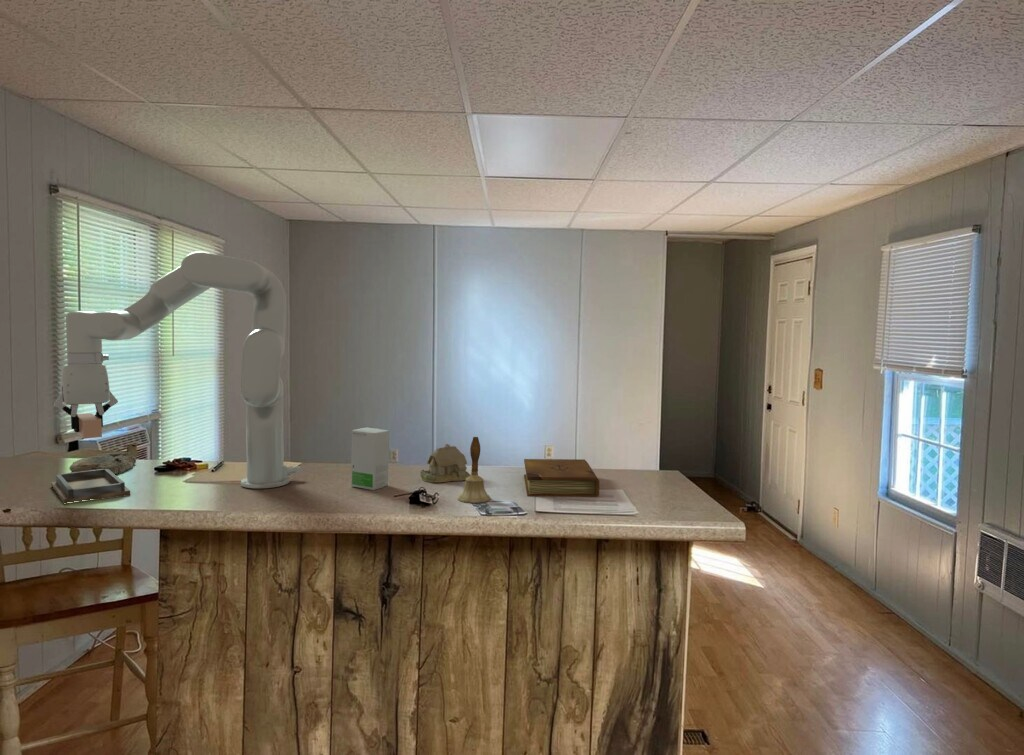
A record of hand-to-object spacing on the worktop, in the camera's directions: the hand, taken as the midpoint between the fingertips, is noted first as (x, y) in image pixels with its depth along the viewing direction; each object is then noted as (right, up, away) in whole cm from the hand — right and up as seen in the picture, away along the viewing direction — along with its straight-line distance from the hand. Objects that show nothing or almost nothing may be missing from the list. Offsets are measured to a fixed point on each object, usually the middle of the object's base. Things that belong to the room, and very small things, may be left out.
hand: (87, 430), depth 170 cm
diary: (+122, -17, +14) cm, 124 cm away
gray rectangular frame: (0, -16, +1) cm, 16 cm away
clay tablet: (-11, -14, +27) cm, 32 cm away
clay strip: (0, -1, 0) cm, 1 cm away
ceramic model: (+90, -16, +20) cm, 94 cm away
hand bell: (+100, -18, -2) cm, 101 cm away
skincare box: (+71, -16, +10) cm, 73 cm away
